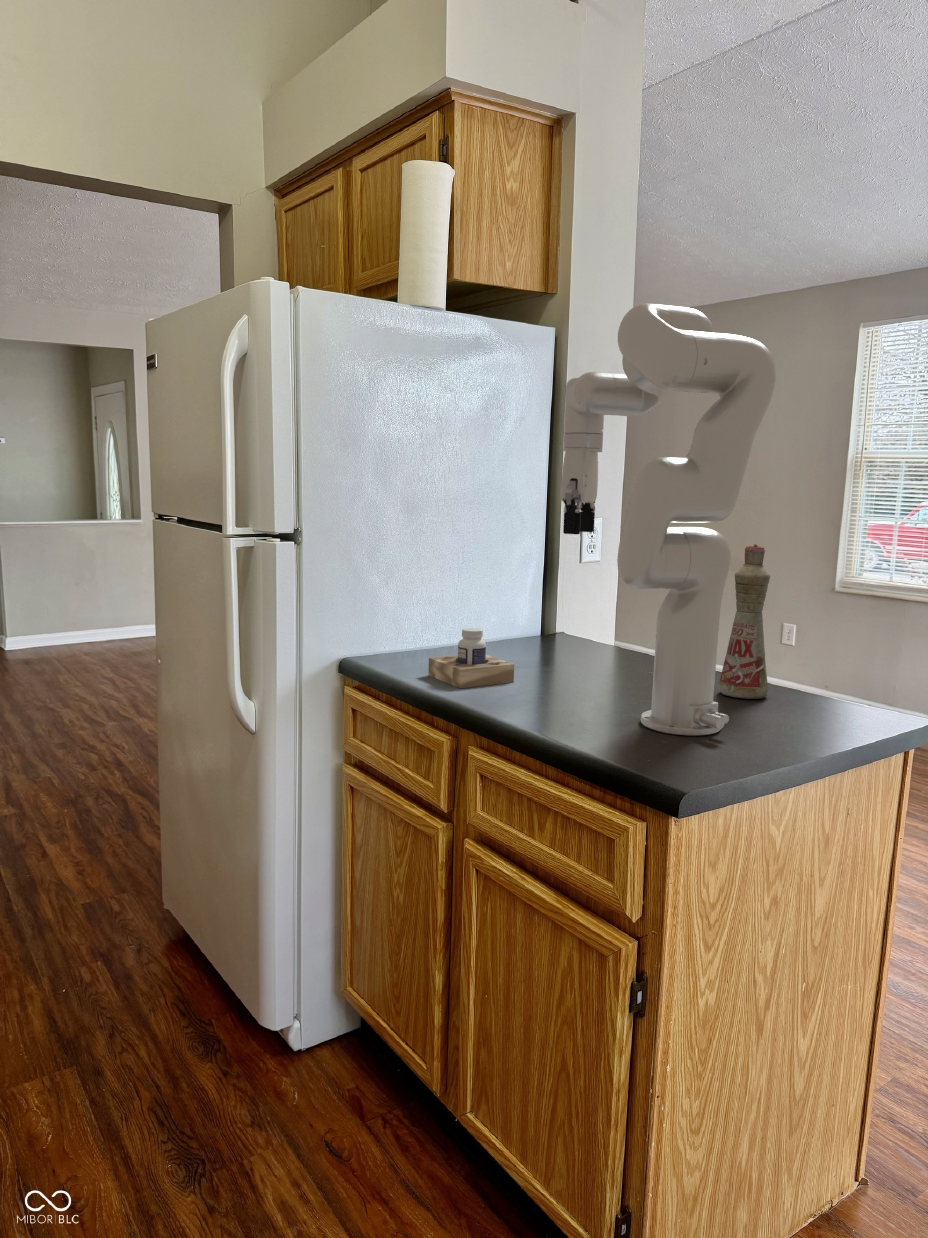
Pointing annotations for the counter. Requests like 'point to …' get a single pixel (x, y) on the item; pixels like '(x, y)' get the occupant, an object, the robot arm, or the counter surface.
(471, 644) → the pill bottle
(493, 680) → the collar
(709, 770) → the counter surface
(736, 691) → the bottle
